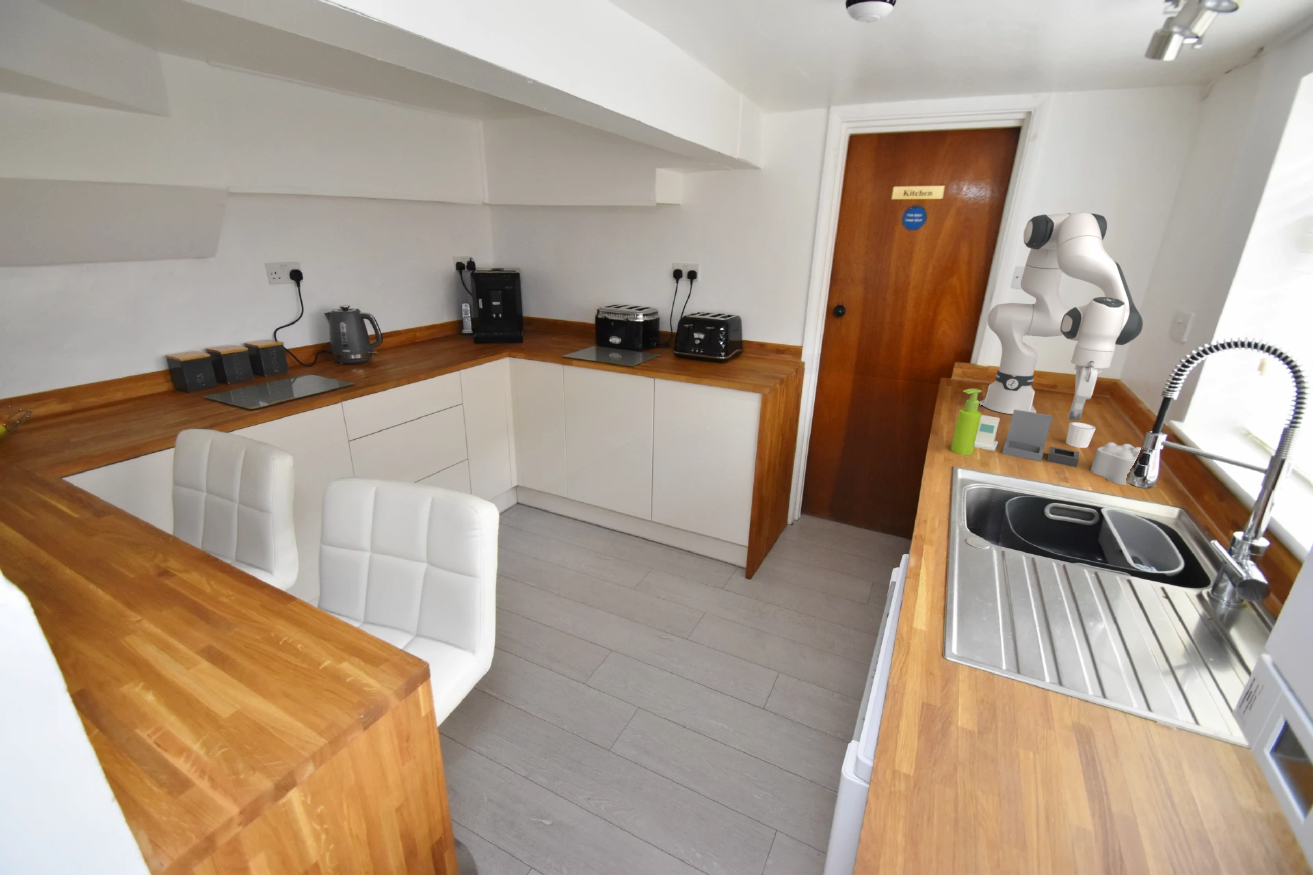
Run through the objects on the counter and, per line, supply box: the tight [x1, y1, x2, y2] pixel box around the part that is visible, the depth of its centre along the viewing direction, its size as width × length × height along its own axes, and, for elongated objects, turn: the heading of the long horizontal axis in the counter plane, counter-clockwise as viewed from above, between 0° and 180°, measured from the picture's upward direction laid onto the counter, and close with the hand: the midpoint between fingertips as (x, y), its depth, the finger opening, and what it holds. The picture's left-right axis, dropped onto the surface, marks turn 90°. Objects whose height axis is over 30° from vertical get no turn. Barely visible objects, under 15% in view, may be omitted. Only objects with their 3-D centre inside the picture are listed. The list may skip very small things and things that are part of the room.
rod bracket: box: [1047, 446, 1080, 468], centre depth 167 cm, size 7×7×3 cm
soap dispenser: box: [950, 388, 983, 456], centre depth 169 cm, size 6×7×20 cm
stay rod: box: [1067, 395, 1087, 421], centre depth 162 cm, size 3×3×8 cm
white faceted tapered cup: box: [1065, 421, 1097, 449], centre depth 179 cm, size 7×7×7 cm
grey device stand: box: [1001, 409, 1054, 462], centre depth 171 cm, size 10×10×12 cm
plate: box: [974, 440, 999, 452], centre depth 179 cm, size 8×7×1 cm
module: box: [975, 414, 1001, 447], centre depth 177 cm, size 5×5×8 cm
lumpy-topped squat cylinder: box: [1090, 441, 1142, 486], centre depth 158 cm, size 10×13×9 cm
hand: (1077, 406), depth 162 cm, fingers closed on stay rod, 3 cm apart
